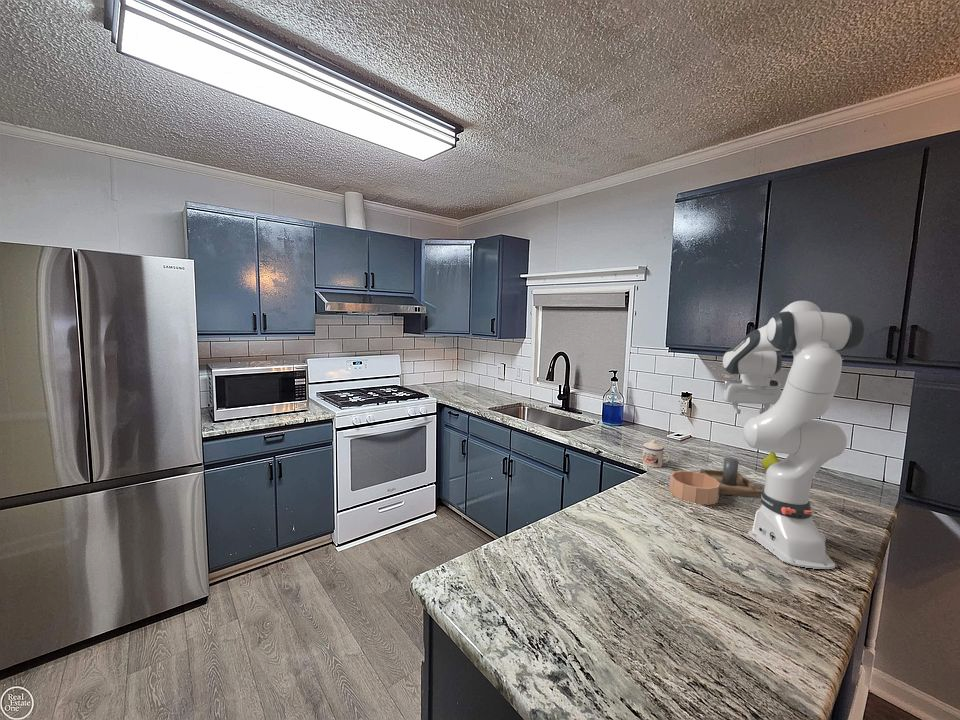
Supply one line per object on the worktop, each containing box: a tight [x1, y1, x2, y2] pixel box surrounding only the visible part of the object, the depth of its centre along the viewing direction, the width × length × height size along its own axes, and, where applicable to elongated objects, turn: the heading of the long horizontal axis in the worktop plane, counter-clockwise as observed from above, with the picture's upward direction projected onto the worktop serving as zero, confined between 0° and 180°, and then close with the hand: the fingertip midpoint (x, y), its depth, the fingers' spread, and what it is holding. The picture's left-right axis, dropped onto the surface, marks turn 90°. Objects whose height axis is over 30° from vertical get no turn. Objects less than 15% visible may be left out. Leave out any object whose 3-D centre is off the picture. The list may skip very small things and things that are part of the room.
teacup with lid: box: [642, 439, 671, 468], centre depth 186 cm, size 12×9×12 cm
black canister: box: [722, 457, 739, 486], centre depth 165 cm, size 5×5×10 cm
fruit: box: [761, 452, 780, 471], centre depth 180 cm, size 7×7×12 cm
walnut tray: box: [699, 469, 763, 499], centre depth 165 cm, size 20×15×2 cm
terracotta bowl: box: [668, 470, 720, 505], centre depth 156 cm, size 17×17×6 cm
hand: (749, 414), depth 161 cm, fingers open, 8 cm apart
